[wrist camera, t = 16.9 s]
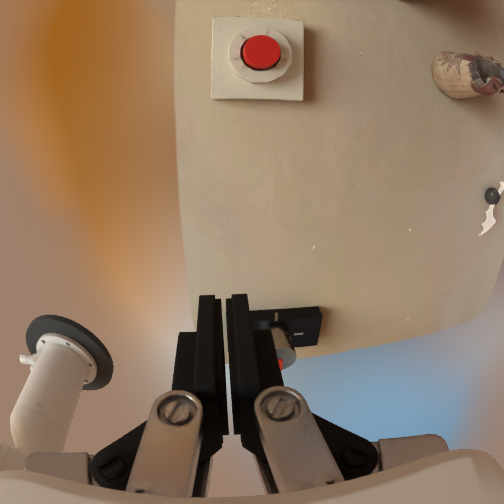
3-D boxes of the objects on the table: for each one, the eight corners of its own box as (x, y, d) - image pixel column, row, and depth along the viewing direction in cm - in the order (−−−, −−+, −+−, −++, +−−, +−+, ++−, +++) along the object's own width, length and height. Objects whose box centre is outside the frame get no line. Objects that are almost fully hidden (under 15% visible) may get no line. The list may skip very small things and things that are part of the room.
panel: (227, 347, 47) (228, 358, 45) (225, 304, 43) (226, 315, 41) (312, 340, 48) (316, 351, 46) (319, 299, 44) (324, 309, 42)
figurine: (469, 76, 30) (526, 79, 19) (453, 107, 33) (512, 117, 22) (440, 43, 28) (498, 37, 17) (424, 75, 30) (484, 74, 20)
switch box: (212, 100, 31) (210, 98, 27) (213, 22, 26) (212, 11, 23) (298, 101, 32) (307, 100, 28) (299, 25, 27) (308, 16, 24)
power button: (242, 69, 27) (243, 66, 25) (242, 38, 25) (244, 34, 23) (277, 70, 27) (280, 67, 25) (277, 39, 25) (280, 35, 24)
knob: (260, 325, 42) (265, 351, 38) (290, 323, 43) (298, 348, 38) (259, 347, 44) (264, 372, 40) (288, 344, 45) (295, 369, 40)
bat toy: (506, 165, 37) (524, 172, 33) (471, 231, 42) (487, 243, 38) (500, 155, 36) (518, 161, 32) (463, 223, 41) (481, 234, 37)
